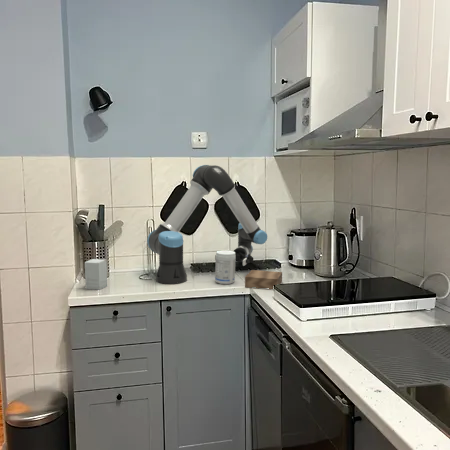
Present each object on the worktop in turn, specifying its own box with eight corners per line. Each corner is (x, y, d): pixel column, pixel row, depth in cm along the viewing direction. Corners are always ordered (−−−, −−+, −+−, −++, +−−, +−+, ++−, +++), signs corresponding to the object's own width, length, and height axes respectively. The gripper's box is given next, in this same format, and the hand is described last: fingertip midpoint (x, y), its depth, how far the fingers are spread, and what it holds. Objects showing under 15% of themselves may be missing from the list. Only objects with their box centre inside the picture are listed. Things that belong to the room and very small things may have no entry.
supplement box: (107, 286, 218) (107, 259, 216) (99, 290, 211) (98, 262, 209) (93, 284, 220) (92, 258, 218) (85, 289, 213) (84, 261, 211)
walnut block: (244, 287, 216) (245, 276, 216) (251, 279, 230) (251, 269, 229) (277, 289, 212) (277, 279, 211) (282, 282, 226) (282, 272, 225)
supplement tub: (224, 278, 232) (225, 249, 230) (238, 282, 225) (240, 252, 223) (210, 281, 225) (211, 251, 223) (224, 285, 218) (226, 254, 216)
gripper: (263, 262, 250) (254, 271, 230) (218, 259, 257) (206, 267, 236) (263, 248, 249) (254, 256, 229) (218, 245, 256) (206, 253, 235)
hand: (230, 262), depth 233 cm, fingers open, 13 cm apart
